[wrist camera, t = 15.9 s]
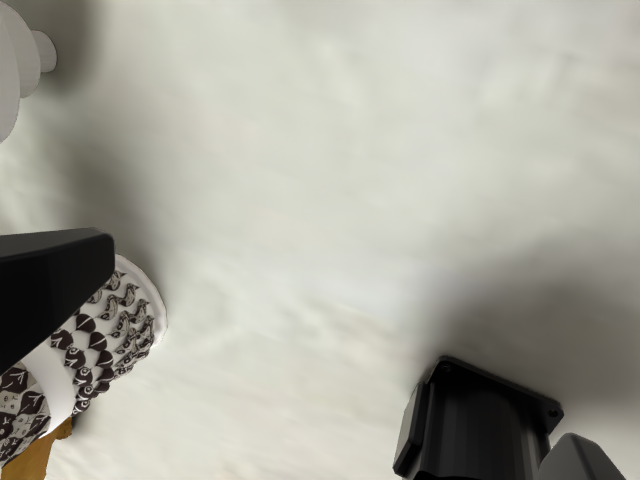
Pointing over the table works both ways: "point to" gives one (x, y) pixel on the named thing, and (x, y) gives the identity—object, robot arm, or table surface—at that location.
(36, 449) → the pitcher
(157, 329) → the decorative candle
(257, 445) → the table surface
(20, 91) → the showerhead
